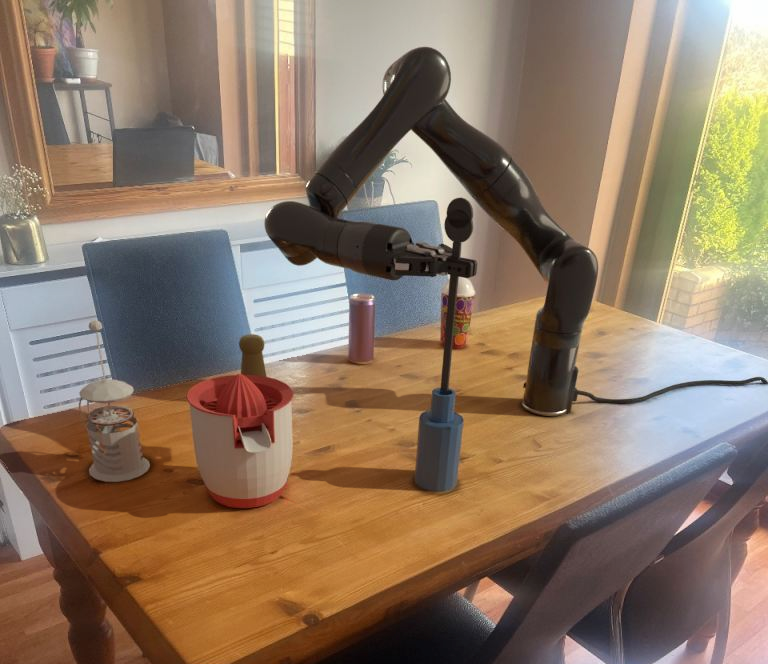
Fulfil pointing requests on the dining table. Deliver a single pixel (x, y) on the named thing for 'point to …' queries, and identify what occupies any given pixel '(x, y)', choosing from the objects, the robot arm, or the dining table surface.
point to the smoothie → (458, 311)
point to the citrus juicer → (242, 437)
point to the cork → (252, 355)
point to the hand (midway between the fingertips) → (473, 269)
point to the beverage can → (361, 328)
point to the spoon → (458, 232)
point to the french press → (112, 429)
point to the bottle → (439, 443)
